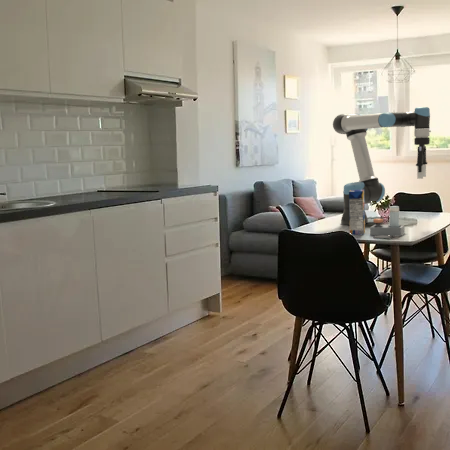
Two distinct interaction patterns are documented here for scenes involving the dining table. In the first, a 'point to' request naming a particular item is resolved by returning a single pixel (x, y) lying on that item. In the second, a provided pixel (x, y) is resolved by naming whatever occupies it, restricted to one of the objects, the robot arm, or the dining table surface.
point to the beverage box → (357, 212)
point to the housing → (387, 230)
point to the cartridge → (394, 216)
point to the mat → (382, 236)
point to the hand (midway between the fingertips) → (421, 177)
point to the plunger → (378, 222)
